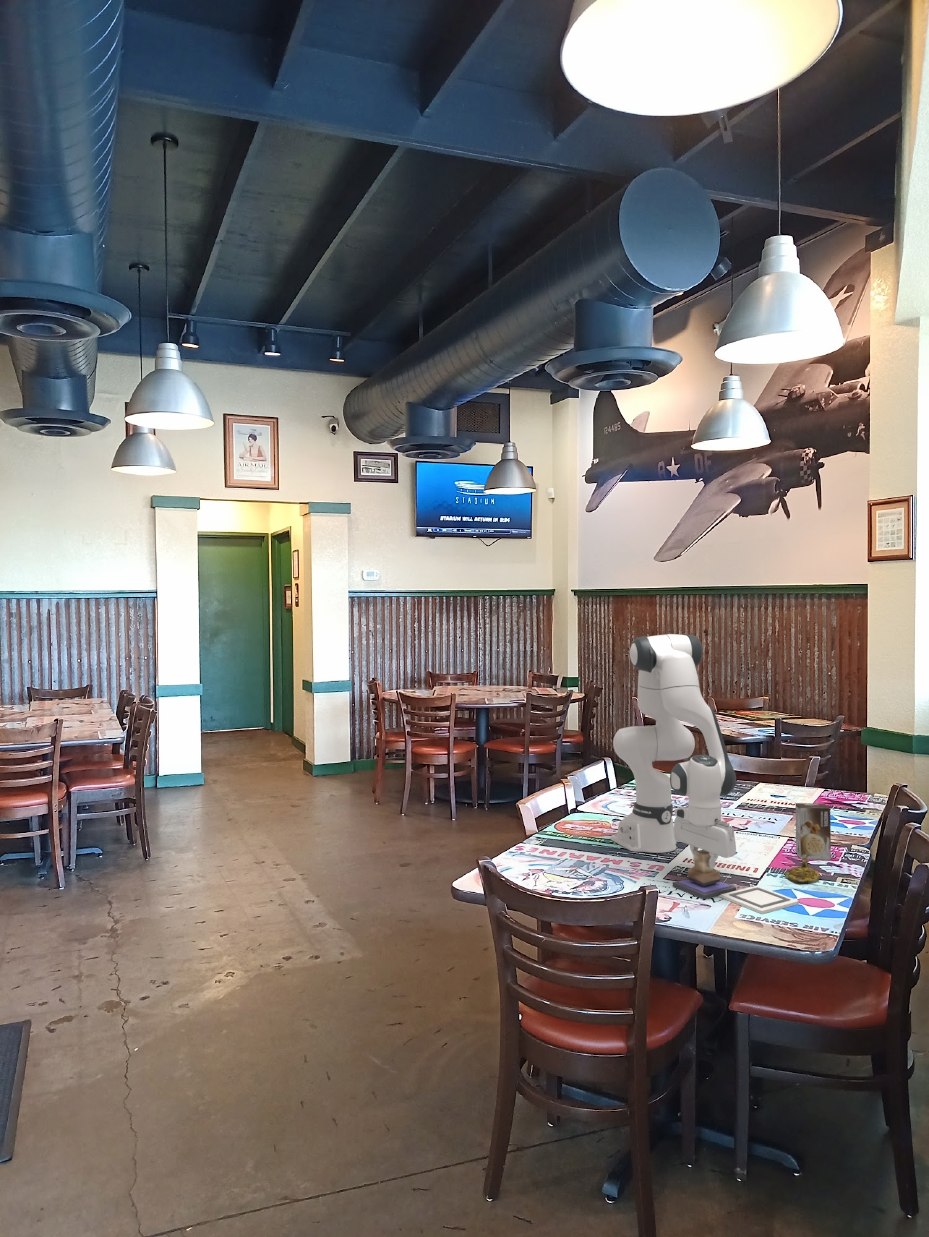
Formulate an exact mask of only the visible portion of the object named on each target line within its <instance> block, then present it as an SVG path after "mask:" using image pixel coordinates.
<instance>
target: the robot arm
mask: <svg viewBox="0 0 929 1237" xmlns="http://www.w3.org/2000/svg"><path fill="white" fill-rule="evenodd" d="M703 652H704V651H703V644H702V642H701V640H700V639H699V637H697V636H696V635H693V634H686V633H684V634H676V633H675V634H673V633H665V634H659V635H651V636H646V635H643V636H639V637H636V638H634V639H633V640H632V641H631V644H630V649H629V658H630V662H631V664H632V666H633V667H634V668H635V669H636V670H638V676H637V703H636V704H637V708H638V710H639V711H640V712H641V713H642V714H643V715H645V716H647V717H649V718H651V719H653V720H655V725H653V726H651V725H648V726H646V725H642V726H641V725H638V726H637V725H636V726H635V725H633V726H626V727H623V728H619V729H618V730H617V731H616V733H615V735H614V737H613V740H612V741H613V742H612V744H613V749H614V752H615V754H616V755H617V757H619V758H620V759H621V760H622V761H623V762H625V763H626V765H628V767H629V768H630V770H631V771H632V774H633V777H634V783H635V800H636V801H634V802H630V807H632V810H631V811H632V812H630V813H629V814H628V815H627V816H625V817H624V818H622V819H621V820H620V821H619V823H618V825H617V833H614V834H612V835H611V836H610V841H612V842H614V843H616V844H618V845H620V846H621V847H623V848H625V849H627V850H628V851H631V852H637V853H638V852H640V853H641V852H643V853H644V852H645V853H651V854H653V853H654V854H655V853H657V854H658V853H659V854H661V853H670V852H673V851H676V850H677V843H678V842H680V843H683V844H686V845H689V849H690V852H691V854H692V860H693V862H694V855H695V851H699V849H700V850H705V851H708V852H709V855H710V856H711V858H710V860H708V861H707V867H709V868H713V869H715V867H716V861H717V859H718V858H719V857H722V858H724V859H729V858H733V857H734V856H735V855H736V854H737V843H736V837H735V836H736V834H735V829H734V828H733V826H732V825H731V823H729V822H727V821H723V820H722V803H721V802H722V801H721V797H726V796H728V795H729V794H730V793H731V792H732V791H733V790H734V788H735V787H736V785H737V776H736V772H735V769H734V767H733V765H732V762H731V760H730V758H729V755H728V752H727V751H728V750H727V748H726V745H725V741H724V738H723V734H722V730H721V727H720V724H719V721H718V718H717V715H716V713H715V711H714V709H713V707H712V706H711V705H708V704H707V702H706V701H705V700H704V698H703V696H702V692H701V688H700V681H699V675H698V672H697V667H698V666H699V664H701V662H702V660H703V656H704V654H703ZM681 721H682V722H685V723H687V724H689V725H690V724H691V725H692V726H694V727H696V728H697V729H699V730H700V732H701V733H702V735H703V737H704V738H703V739H704V741H705V745H706V748H707V751H708V754H695V755H693V752H694V750H695V747H696V746H695V745H696V740H695V737H694V735H693V733H692V732H691V731H690V729H688V728H687V727H686V726H684V724H683V723H682V722H681ZM692 755H693V756H692ZM691 756H692V757H691ZM688 758H689V760H687V761H684V762H678V763H676V764H675V765H674V766H673V767H672V769H671V771H670V773H669V774H670V775H669V776H668V775H667V774H665V773H664V772H662V771H661V770H658V769H656V768H654V767H653V762H655V761H681V760H684V759H688ZM672 790H673V791H674V792H675V793H676V795H678V796H680V797H681V796H683V797H688V803H687V806H681V807H678V808H675V809H674V808H673V807H674V805H673V803H672ZM673 811H674V812H673ZM673 815H674V816H675V818H674V819H673Z"/></svg>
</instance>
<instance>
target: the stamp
mask: <svg viewBox="0 0 929 1237" xmlns="http://www.w3.org/2000/svg"><path fill="white" fill-rule="evenodd" d="M710 858H711V856H710V855H709V852H708V851H705V850H702V849H700V850H699V849H698V851H695V855H694V861H693V862H694V864H693V865H694V866H693V867H690V868H688V869H687V879H688V880H691V881H693V882H696V883H698V884H701V885H703V886H705V885H709V884H713V883H717V882H720V880H721V878H720V877H721V871H720V870H717V869H716V868H709V867H707V861H708V860H710Z"/></svg>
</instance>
